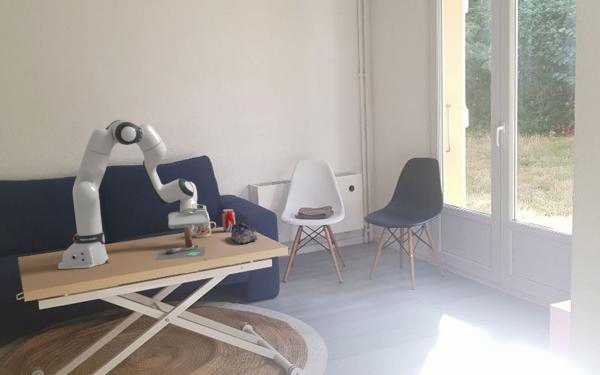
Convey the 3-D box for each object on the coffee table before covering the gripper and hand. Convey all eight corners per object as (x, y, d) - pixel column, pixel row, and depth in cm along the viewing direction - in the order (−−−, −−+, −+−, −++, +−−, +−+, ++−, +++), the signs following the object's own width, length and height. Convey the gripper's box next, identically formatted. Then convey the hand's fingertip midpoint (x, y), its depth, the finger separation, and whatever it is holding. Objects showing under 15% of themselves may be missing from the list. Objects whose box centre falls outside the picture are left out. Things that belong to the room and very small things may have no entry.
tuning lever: (167, 254, 272) (165, 230, 270) (165, 252, 276) (162, 229, 274) (198, 249, 279) (196, 225, 277) (195, 247, 282) (193, 224, 281)
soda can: (233, 232, 320) (232, 211, 319) (221, 232, 322) (219, 211, 320) (237, 229, 327) (236, 208, 325) (225, 229, 329) (224, 208, 327)
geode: (223, 239, 306) (224, 220, 305) (243, 238, 311) (244, 220, 311) (238, 244, 288) (238, 224, 288) (259, 244, 293) (260, 224, 293)
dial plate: (155, 263, 264) (155, 259, 264) (159, 254, 281) (159, 250, 280) (204, 258, 266) (204, 255, 266) (205, 250, 283) (205, 246, 283)
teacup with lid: (196, 238, 310) (194, 217, 308) (193, 235, 318) (191, 214, 317) (218, 235, 314) (216, 214, 312) (215, 232, 322) (213, 212, 321)
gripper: (167, 208, 288) (166, 232, 280) (208, 205, 290) (209, 228, 282) (168, 215, 293) (168, 239, 285) (209, 212, 295) (210, 235, 287)
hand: (189, 233), depth 283 cm, fingers closed
